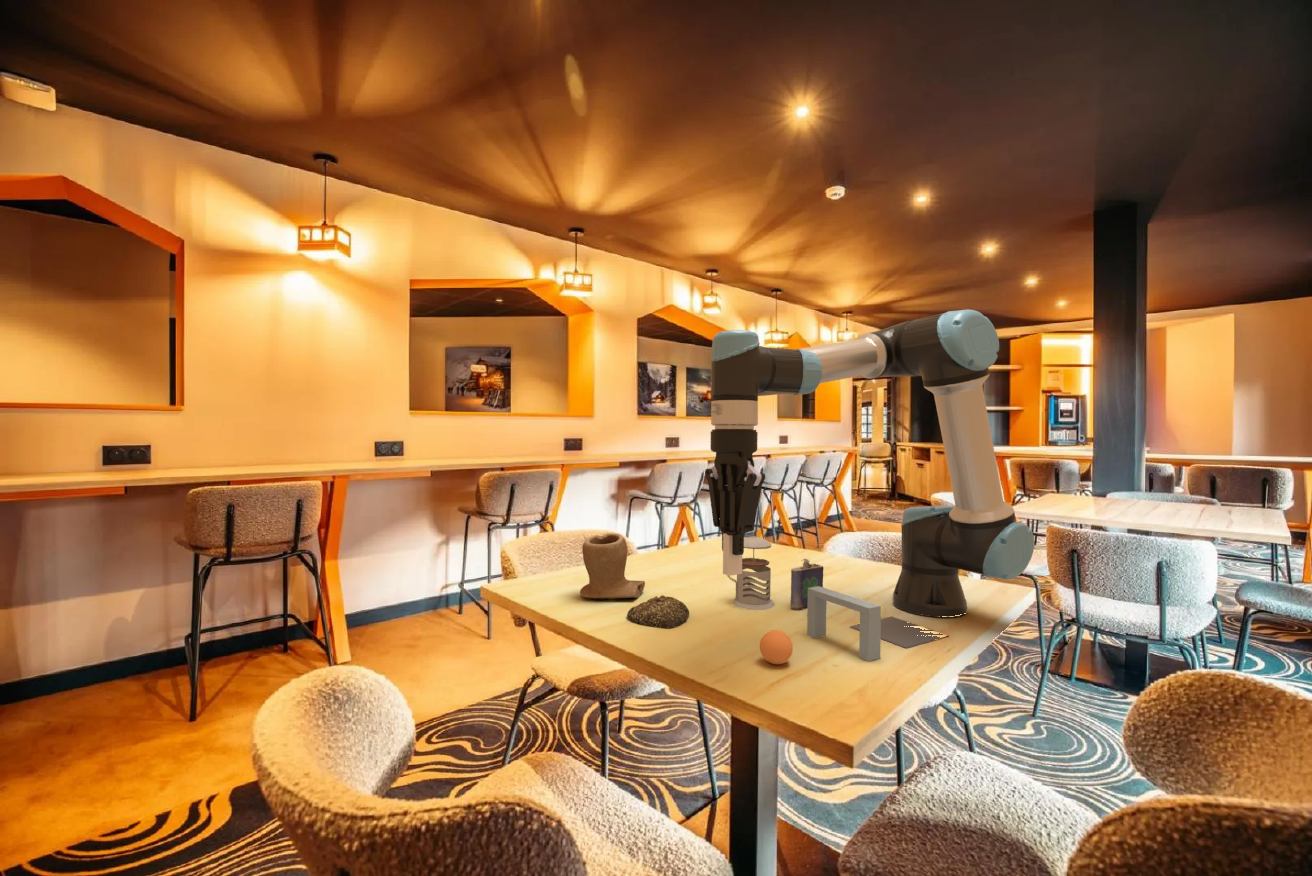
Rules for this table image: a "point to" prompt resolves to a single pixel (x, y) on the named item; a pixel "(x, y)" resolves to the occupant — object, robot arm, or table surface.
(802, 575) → the flask
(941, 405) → the robot arm
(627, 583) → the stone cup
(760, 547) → the french press
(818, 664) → the table surface
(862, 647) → the bridge
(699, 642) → the table surface
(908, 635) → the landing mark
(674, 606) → the bread roll
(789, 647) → the ball
